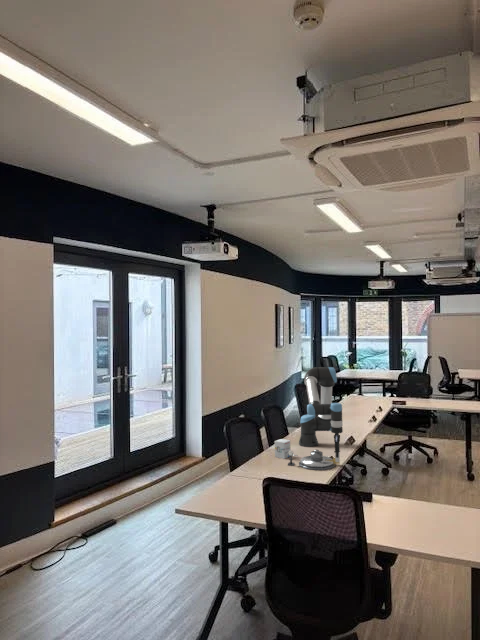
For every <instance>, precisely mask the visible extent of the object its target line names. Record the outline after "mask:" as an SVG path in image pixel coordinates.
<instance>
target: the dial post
mask: <svg viewBox="0 0 480 640" xmlns="http://www.w3.org/2000/svg"><path fill="white" fill-rule="evenodd" d="M288 455H289V456H290V457H289V462H288V463H287V466H289V467H290V466H291V467H292V466H293V467H294V466H295V462H293V457H298V454H294V451H293V450H290V451H289V452H288Z"/></svg>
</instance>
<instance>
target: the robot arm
mask: <svg viewBox="0 0 480 640" xmlns="http://www.w3.org/2000/svg"><path fill="white" fill-rule="evenodd" d="M336 371H337V370H336V369H335V367H333V366H332V367H331V366H328V367H327V366H324V367H323V366H322V367H320V366H319V367H318V366H317V367H312V368H310V369H308V370H307V372H306V373H305V375H304V377H303V378H304V379H303V383H304V385H305V386H306V391H307V398H308V404H307V405H306V412H307V413H306V414H303V415H302V416H301V417H300V421H299V423H300V437H299V440H298V445H299V446H302V447H307V448H308V447H310V448H311V447H317V446H318V445H319V440H318V437H317V434H316V432H331V433H332V434H333V440H334V441H333V442H334V454H335V455H334V458H335V462H341V460H340V457H341V456H340V453H341V450H340V443H341V434H342V433H343V431H344V429H343V404H342V403H340V402H333V387H334V386H335V383H337V382H338V378H337V373H336ZM317 384H318V385H319V386H320V395H319V391H318V386H317Z"/></svg>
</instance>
